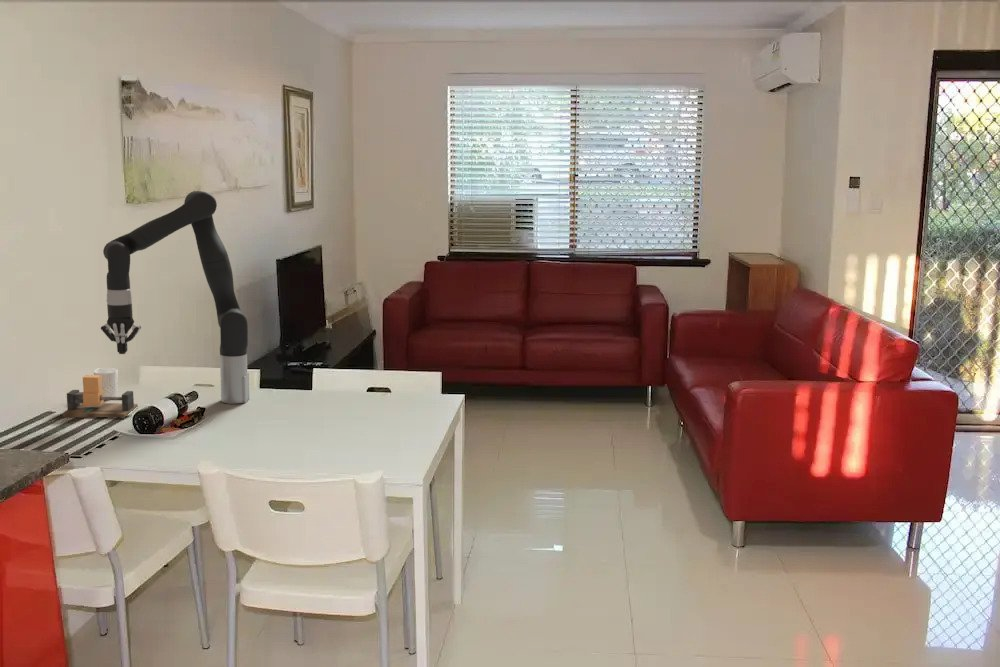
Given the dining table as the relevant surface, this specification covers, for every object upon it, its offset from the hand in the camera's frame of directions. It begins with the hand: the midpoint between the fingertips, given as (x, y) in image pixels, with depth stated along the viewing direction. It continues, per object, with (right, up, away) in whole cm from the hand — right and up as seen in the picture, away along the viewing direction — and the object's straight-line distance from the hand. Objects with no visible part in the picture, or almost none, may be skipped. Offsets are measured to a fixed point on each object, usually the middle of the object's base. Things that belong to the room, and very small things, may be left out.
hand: (122, 353), depth 299 cm
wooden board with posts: (-9, -20, +4) cm, 22 cm away
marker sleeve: (-11, -17, +3) cm, 21 cm away
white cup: (-14, -16, +21) cm, 30 cm away
